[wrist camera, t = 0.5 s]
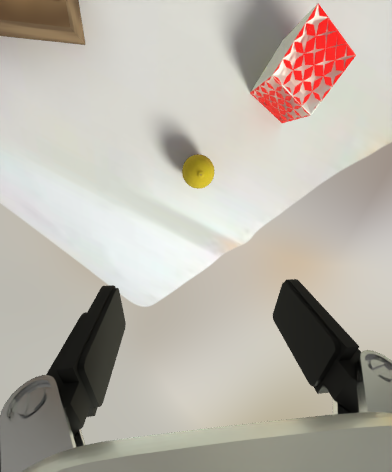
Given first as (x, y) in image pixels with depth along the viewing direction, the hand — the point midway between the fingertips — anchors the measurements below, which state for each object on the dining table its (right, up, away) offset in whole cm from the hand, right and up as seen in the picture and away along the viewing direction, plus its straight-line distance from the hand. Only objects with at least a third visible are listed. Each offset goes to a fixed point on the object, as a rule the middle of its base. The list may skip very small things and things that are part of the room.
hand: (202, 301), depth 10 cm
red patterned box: (+14, +29, +20) cm, 38 cm away
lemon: (0, +17, +25) cm, 30 cm away
